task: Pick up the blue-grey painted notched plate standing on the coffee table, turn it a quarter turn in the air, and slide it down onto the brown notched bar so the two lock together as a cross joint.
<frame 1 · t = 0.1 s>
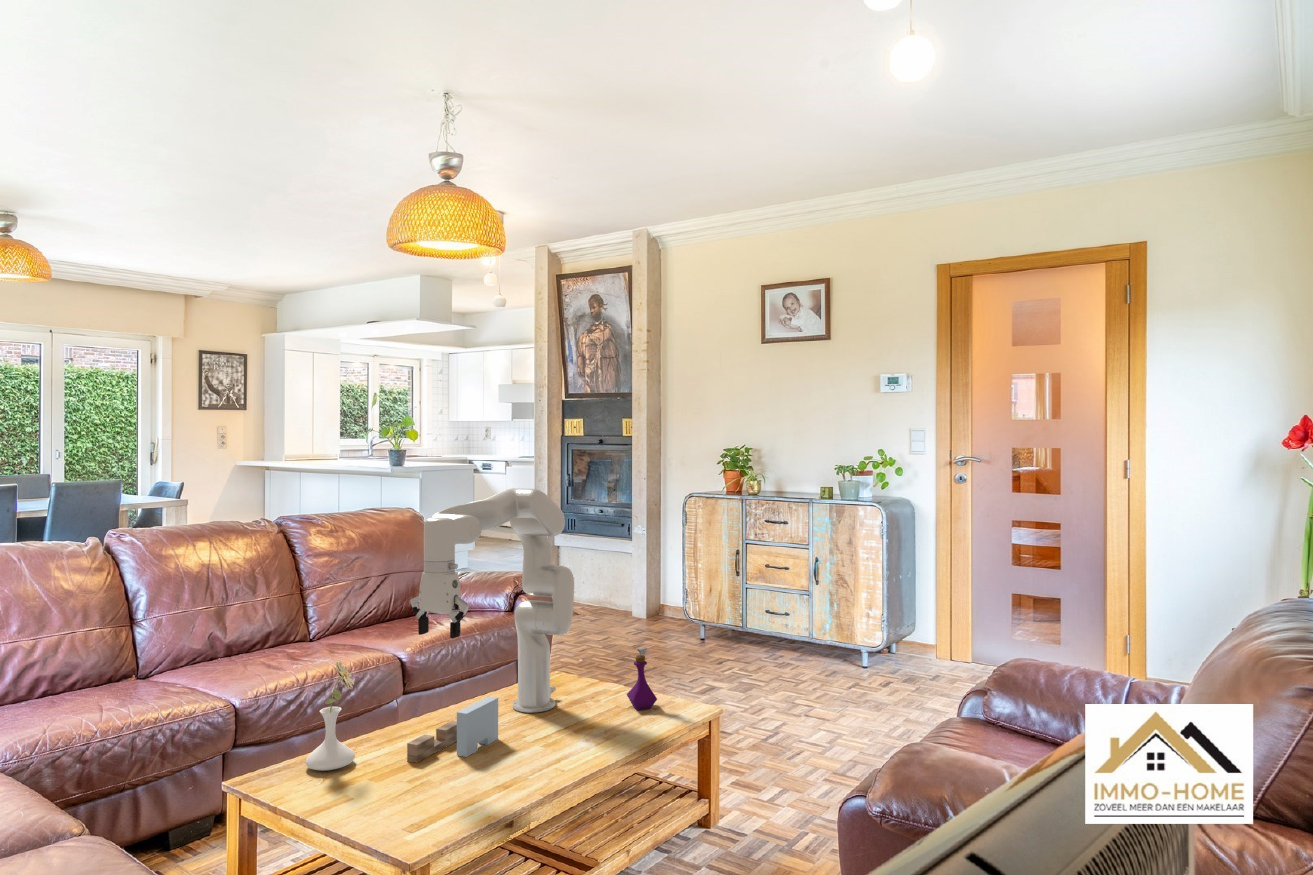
hand: (439, 635, 210), 31 cm above the table, tool pointing down, fingers open, 9 cm apart
blue grey notched plate: (478, 746, 218), on the table
brown notched bar: (435, 749, 216), on the table
flower in vase: (332, 765, 206), on the table
perfume bottle: (641, 708, 250), on the table
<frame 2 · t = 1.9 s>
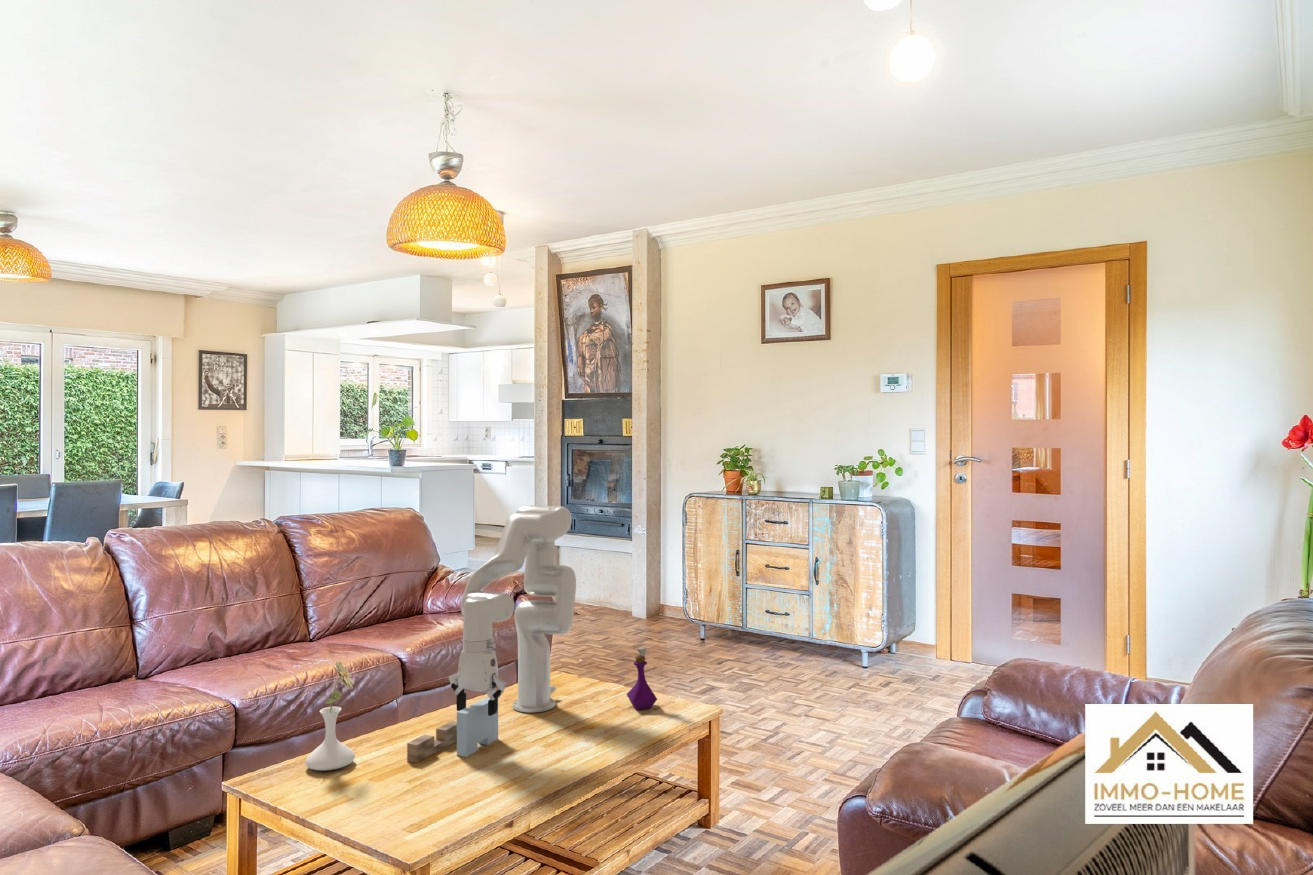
hand: (476, 711, 217), 9 cm above the table, tool pointing down, fingers open, 9 cm apart
nothing on the table moved.
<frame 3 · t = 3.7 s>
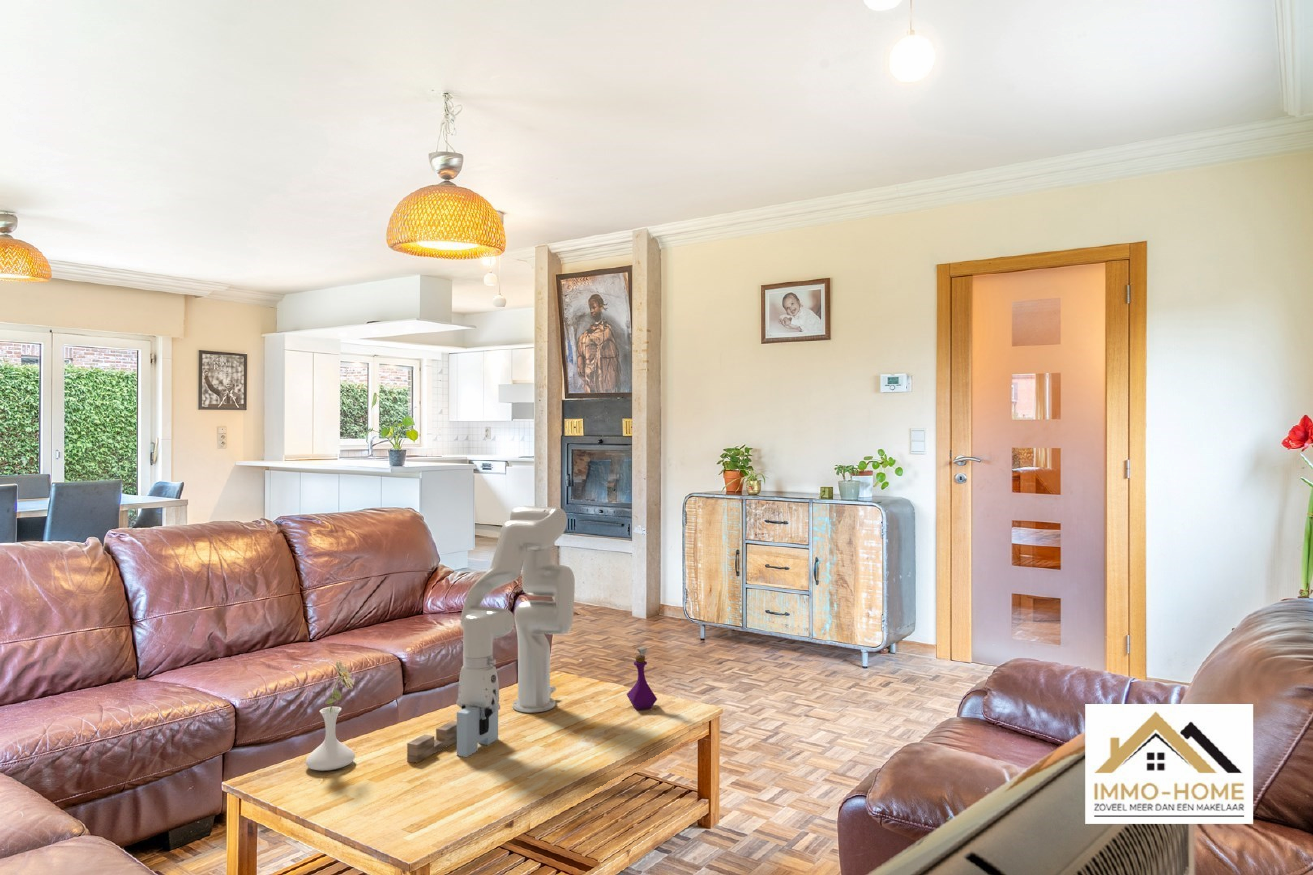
hand: (478, 731, 218), 4 cm above the table, tool pointing down, fingers closed on blue grey notched plate, 3 cm apart
blue grey notched plate: (478, 746, 218), on the table, touching gripper
everything else where it was.
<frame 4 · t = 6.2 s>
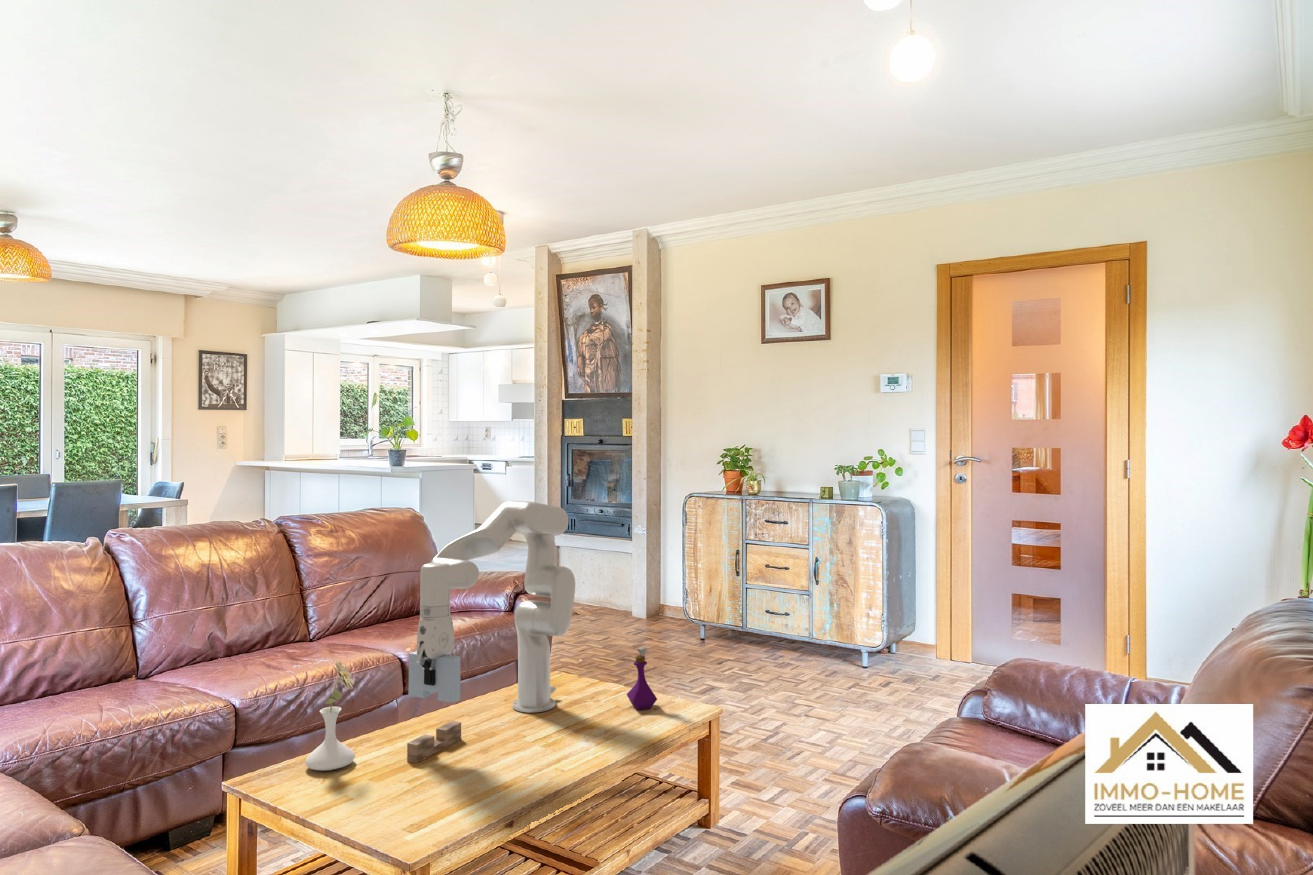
hand: (434, 682, 216), 18 cm above the table, tool pointing down, fingers closed on blue grey notched plate, 3 cm apart
blue grey notched plate: (434, 697, 216), point 14 cm above the table, touching gripper
everything else where it was.
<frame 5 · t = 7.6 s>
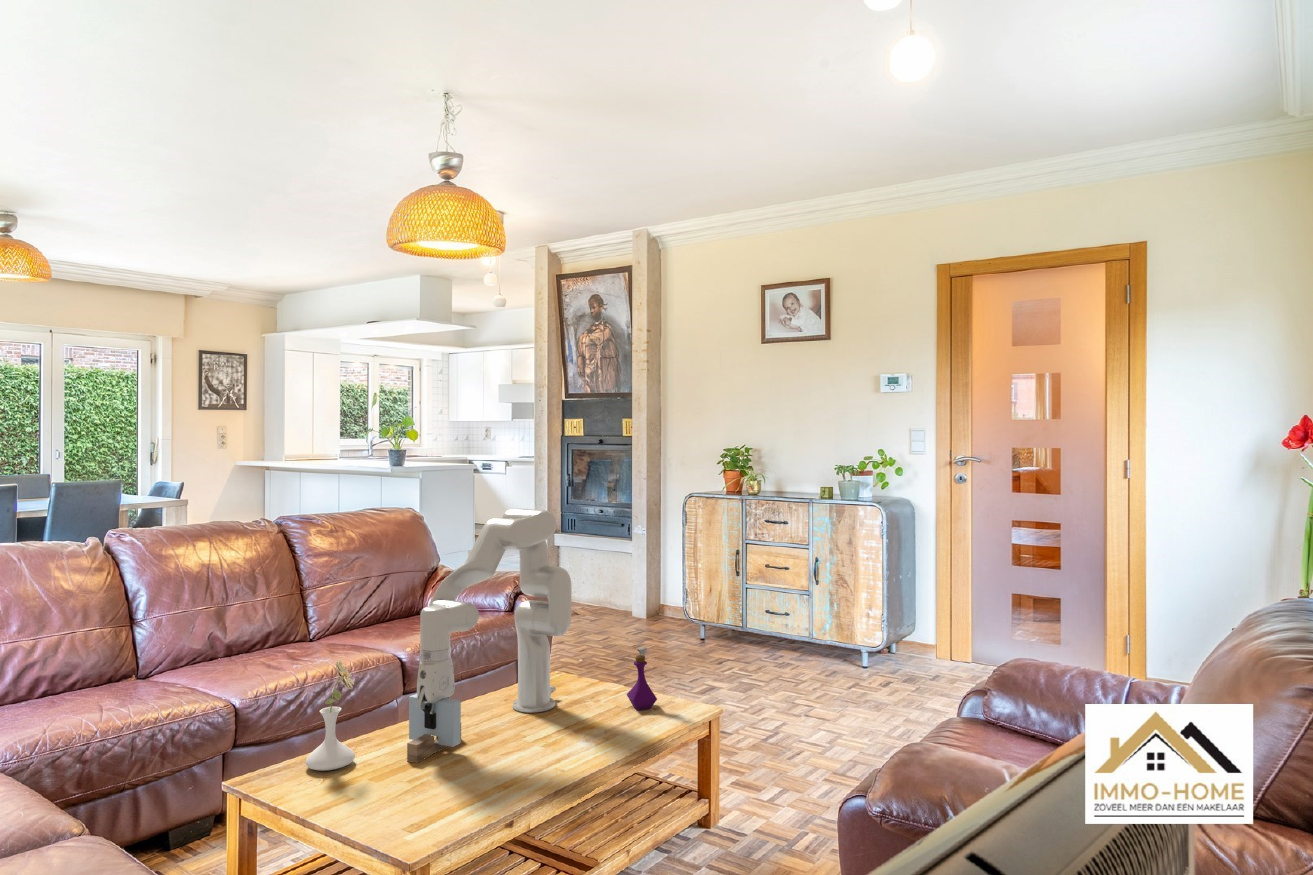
hand: (434, 725, 216), 6 cm above the table, tool pointing down, fingers closed on blue grey notched plate, 3 cm apart
blue grey notched plate: (434, 740, 216), point 2 cm above the table, touching gripper
everything else where it was.
when the fingers open (5 cm above the table, at t = 8.7 s): blue grey notched plate drops 1 cm, on the table.
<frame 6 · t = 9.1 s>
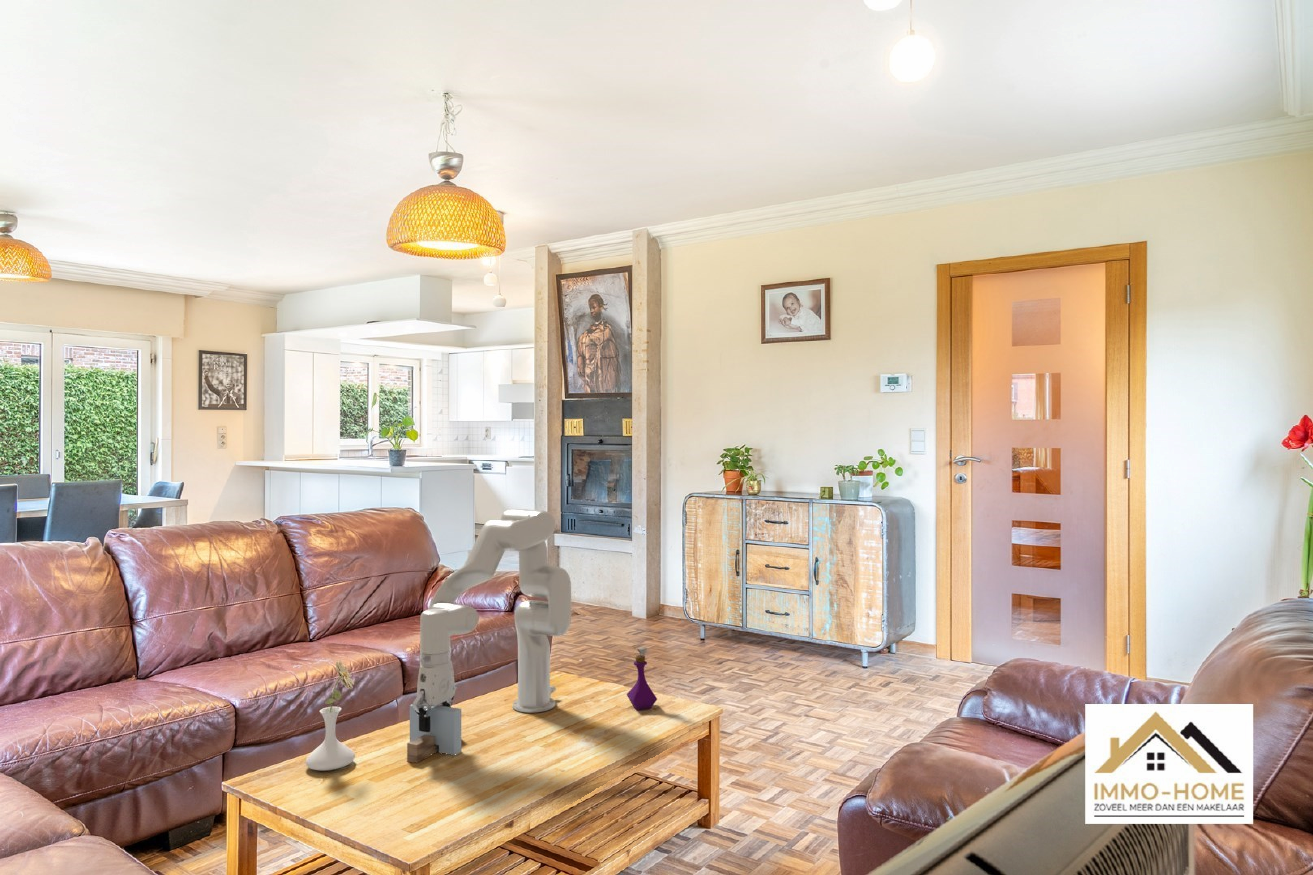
hand: (435, 725, 216), 6 cm above the table, tool pointing down, fingers open, 7 cm apart
blue grey notched plate: (435, 749, 216), on the table
everything else where it was.
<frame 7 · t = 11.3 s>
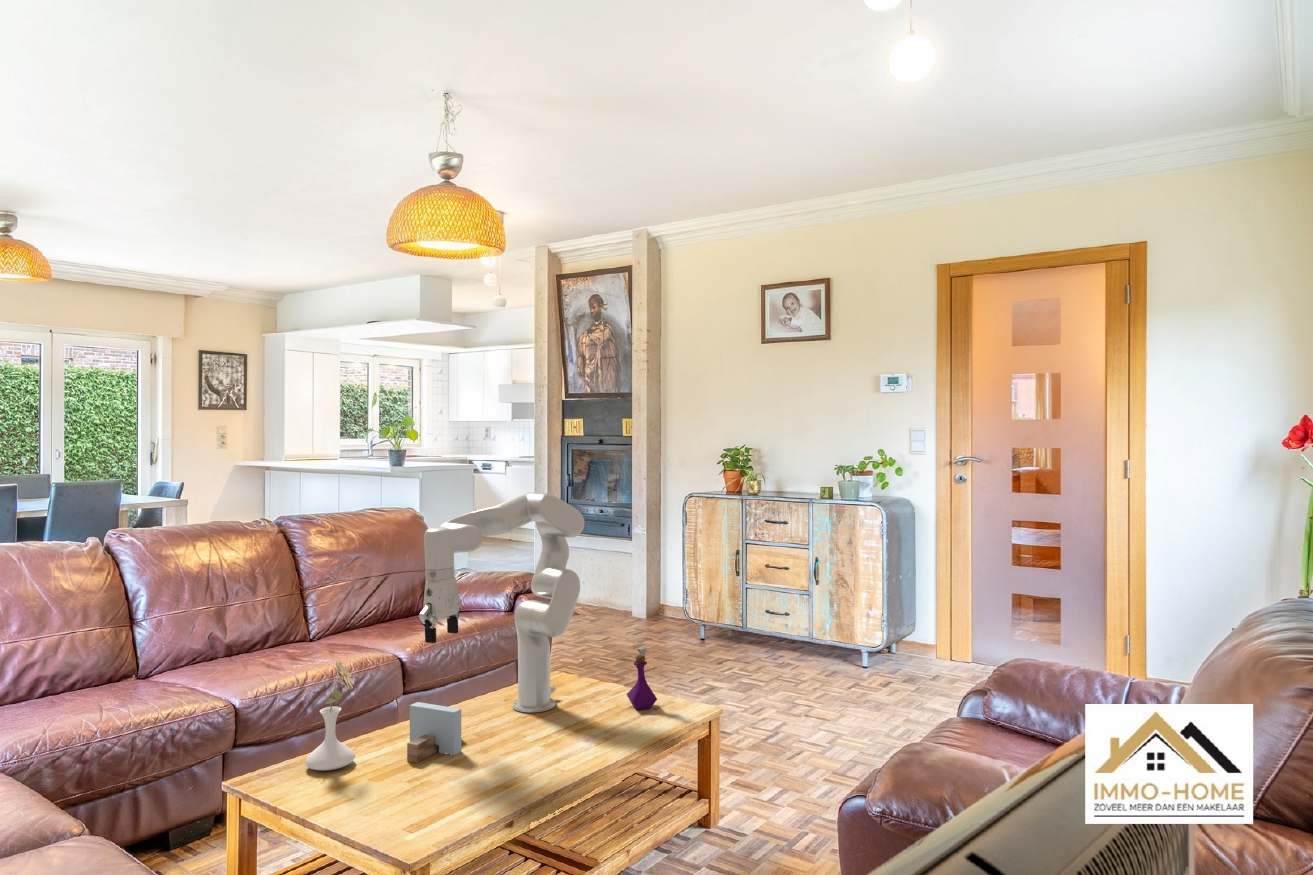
hand: (442, 637, 225), 27 cm above the table, tool pointing down, fingers open, 9 cm apart
nothing on the table moved.
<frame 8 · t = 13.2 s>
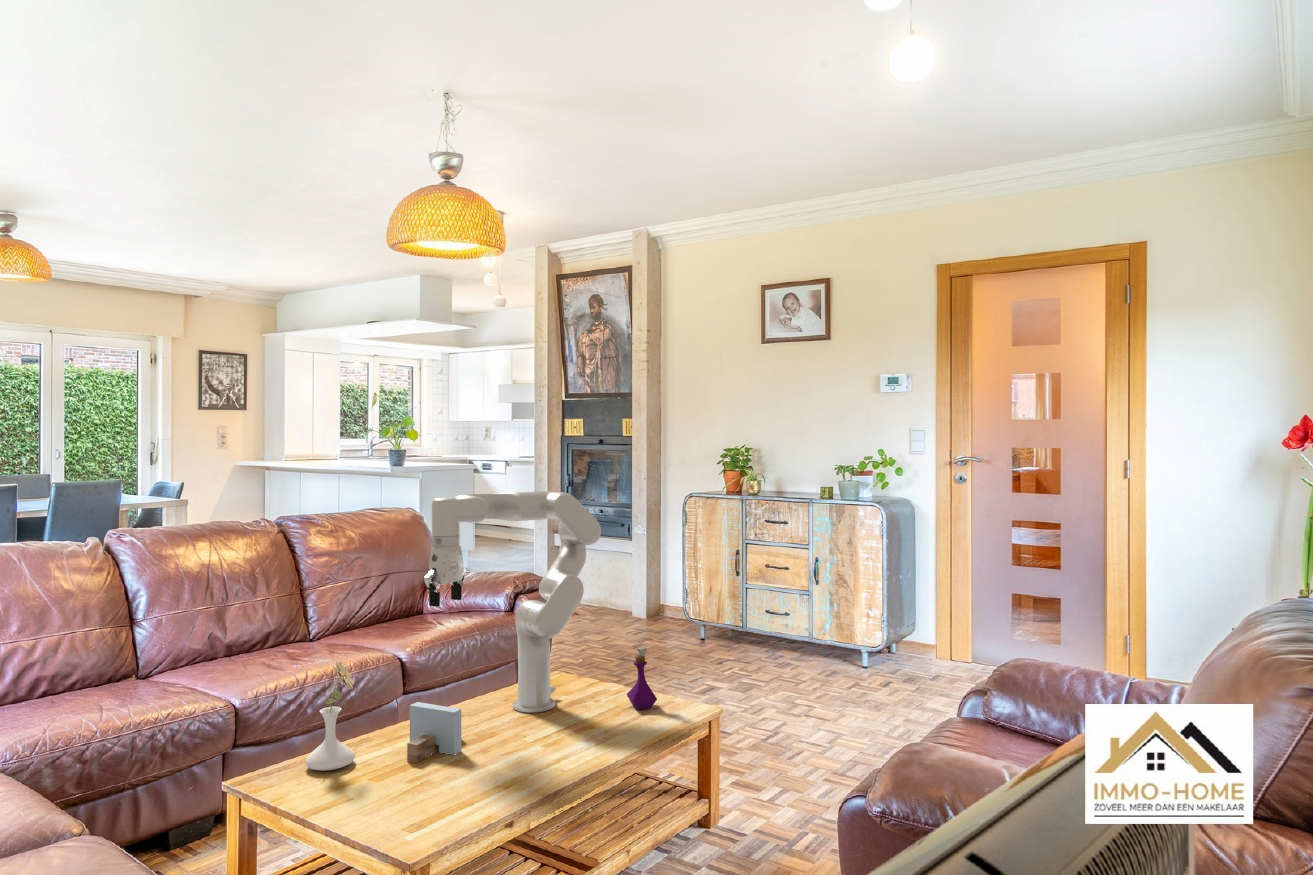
hand: (445, 602, 234), 34 cm above the table, tool pointing down, fingers open, 9 cm apart
nothing on the table moved.
at the end: blue grey notched plate 0.1 cm off-centre on the brown notched bar, point 0.0 cm above the brown notched bar's base; blue grey notched plate tilted 0°; the gripper is holding nothing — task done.
